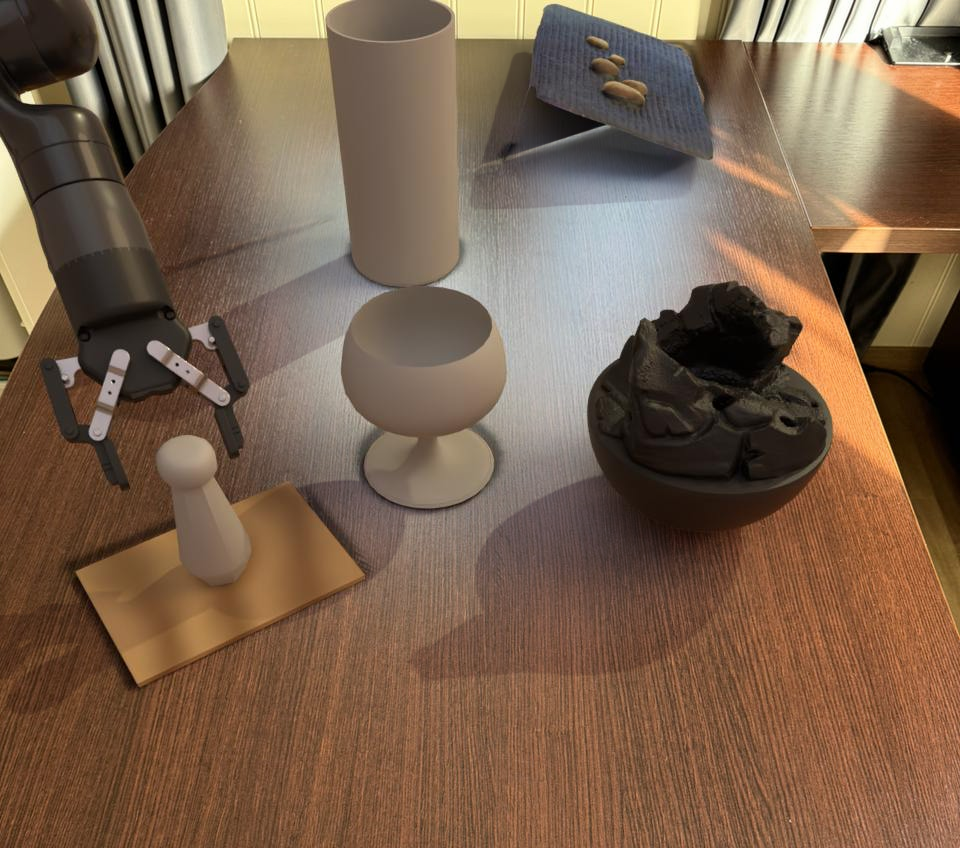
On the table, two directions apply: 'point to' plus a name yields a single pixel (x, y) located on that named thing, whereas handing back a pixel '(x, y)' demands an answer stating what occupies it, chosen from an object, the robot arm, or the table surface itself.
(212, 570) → the salt shaker
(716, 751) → the table surface
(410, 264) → the cylinder vase
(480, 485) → the chalice
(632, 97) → the mat
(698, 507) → the bowl of black rocks
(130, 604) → the cork mat
